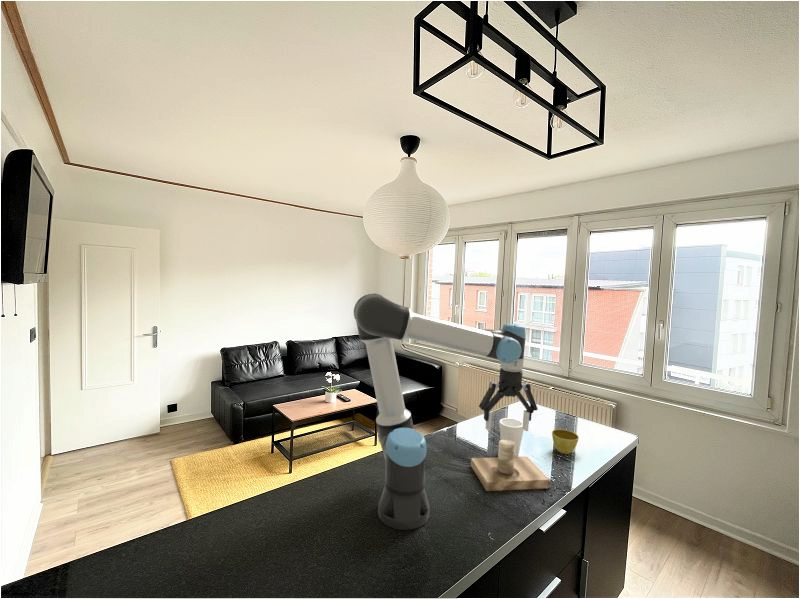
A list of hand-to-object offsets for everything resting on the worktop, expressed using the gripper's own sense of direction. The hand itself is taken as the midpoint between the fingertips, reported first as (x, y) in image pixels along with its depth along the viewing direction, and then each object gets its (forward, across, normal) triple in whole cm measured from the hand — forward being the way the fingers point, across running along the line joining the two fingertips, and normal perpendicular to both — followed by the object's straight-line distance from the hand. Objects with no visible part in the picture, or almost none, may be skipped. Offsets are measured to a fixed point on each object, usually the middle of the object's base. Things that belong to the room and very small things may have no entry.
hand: (506, 429), depth 128 cm
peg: (+18, +1, 0) cm, 18 cm away
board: (+18, +3, +2) cm, 18 cm away
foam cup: (+18, +11, +18) cm, 28 cm away
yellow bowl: (+18, +35, +19) cm, 43 cm away
